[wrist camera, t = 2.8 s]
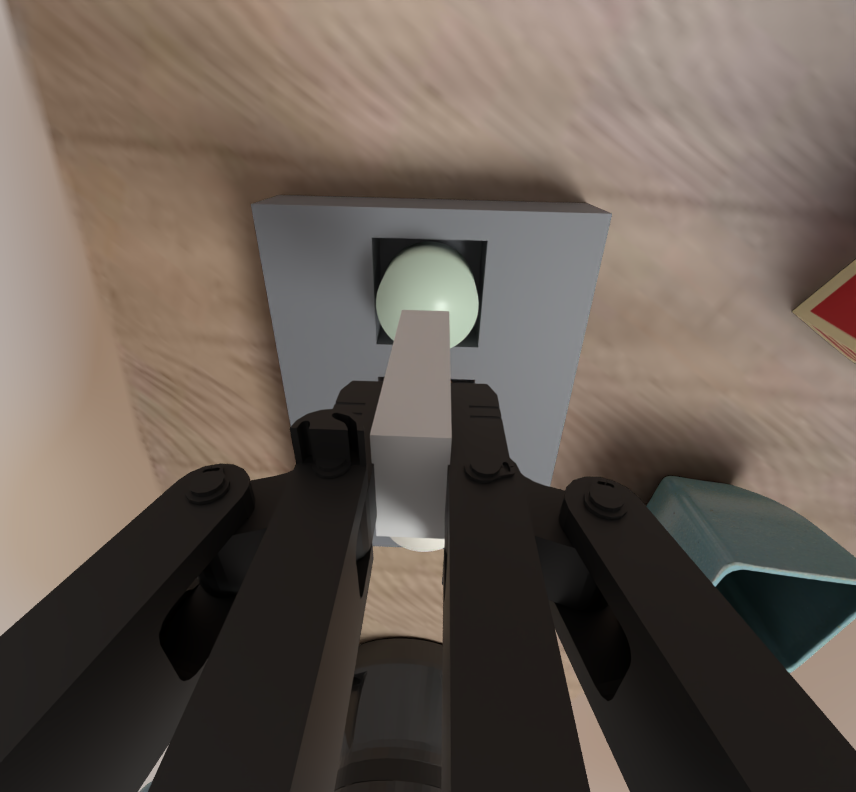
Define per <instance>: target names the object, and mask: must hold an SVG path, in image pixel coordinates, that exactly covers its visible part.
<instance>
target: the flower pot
mask: <svg viewBox="0 0 856 792" xmlns="http://www.w3.org/2000/svg"><path fill="white" fill-rule="evenodd" d="M646 507H647V508H648V509H649V510H650V511H651V512H652V514H653V515H654V516H655V517H656V518H657V519H658V521H659V522H660V523H661V524H662V525H663V526H664V528H665V529H666V530H667V531H668V532H669V533H670V535H671V536H672V537H673V538H674V539H675V540H676V542H677V543H678V544H679V545H680V546H681V547H682V549H683V550H684V551H685V552H686V553H687V554H688V556H689V557H690V558H691V559H692V560H693V561H694V563H695V564H696V565H697V566H698V567H699V568H700V570H701V571H702V572H703V573H704V574H705V575H706V577H707V578H708V579H709V580H710V581H711V582H712V584H713V585H714V586H715V587H716V588H717V589H718V591H719V592H720V593H721V594H722V595H723V596H724V598H725V599H726V600H727V601H728V602H729V603H730V605H731V606H732V607H733V608H734V609H735V610H736V612H737V613H738V614H739V615H740V616H741V617H742V619H743V620H744V621H745V622H746V623H747V624H748V626H749V627H750V628H751V629H752V630H753V631H754V633H755V634H756V635H757V636H758V637H759V638H760V640H761V641H762V642H763V643H764V644H765V645H766V647H767V648H768V649H769V650H770V651H771V652H772V654H773V655H774V656H775V657H776V658H777V659H778V661H779V662H780V663H781V664H782V665H783V666H784V668H785V669H786V670H787V671H788V672H789V673H791V672H793V671H794V670H795V669H797V668H798V667H799V666H801V664H803V663H804V662H805V661H806V660H807V659H809V658H810V657H811V656H812V655H814V654H815V653H816V652H817V651H818V650H819V649H820V648H821V647H823V646H824V645H825V644H826V643H827V642H828V641H830V640H831V639H832V638H833V637H835V636H836V635H837V634H838V633H839V632H840V631H841V630H842V629H843V628H845V627H846V626H847V625H848V624H849V623H851V622H852V621H853V620H854V619H856V558H855V557H854V556H853V555H851V554H850V553H849V552H848V551H847V550H845V549H844V548H843V547H842V546H840V545H839V544H838V543H837V542H836V541H834V540H833V539H832V538H831V537H829V536H828V535H827V534H826V533H824V532H823V531H822V530H820V529H819V528H818V527H817V526H815V525H814V524H813V523H811V522H810V521H808V520H807V519H806V518H804V517H803V516H801V515H800V514H798V513H796V512H795V511H793V510H791V509H790V508H788V507H786V506H784V505H782V504H780V503H778V502H776V501H774V500H772V499H769V498H767V497H765V496H762V495H760V494H757V493H754V492H751V491H749V490H746V489H743V488H739V487H736V486H733V485H729V484H723V483H716V482H709V481H702V480H695V479H689V478H683V477H676V476H667V477H665V478H664V479H663V480H662V481H661V482H660V484H659V486H658V488H657V489H656V491H655V493H654V494H653V496H652V498H651V499H650V501H649V503H648V504H647V506H646Z"/></svg>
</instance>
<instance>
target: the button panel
mask: <svg viewBox="0 0 856 792" xmlns="http://www.w3.org/2000/svg"><path fill="white" fill-rule="evenodd" d="M251 208H252V213H253V219H254V225H255V230H256V236H257V241H258V247H259V252H260V258H261V264H262V269H263V275H264V280H265V286H266V291H267V297H268V302H269V308H270V314H271V319H272V325H273V330H274V336H275V341H276V347H277V353H278V358H279V364H280V369H281V375H282V380H283V386H284V392H285V397H286V403H287V408H288V414H289V419H290V425H291V426H292V425H293V424H294V422H295V421H296V420H297V419H299V418H301V417H303V416H304V415H306V414H308V413H311V412H315V411H318V410H324V409H333V407H334V404H336V400H337V397H338V395H339V392H340V390H341V389H343V388H344V387H345V386H346V385H348V384H349V383H350V382H351V381H352V380H354V381H381V382H383V381H384V378H385V374H386V370H387V366H388V362H389V358H390V354H391V350H392V346H393V342H394V341H393V340H392V339H391V338H390V337H389V336H388V335H387V333H386V332H385V331H384V329H383V327H382V325H381V324H380V321H379V318H378V315H377V309H376V297H377V292H378V289H379V286H380V283H381V281H382V279H383V277H384V274H385V272H386V270H387V268H388V266H389V264H390V262H391V261H392V259H393V258H394V257H395V256H396V255H397V254H398V253H399V252H400V251H401V250H403V249H404V248H406V247H408V246H410V245H412V244H415V243H418V242H425V241H432V242H439V243H443V244H445V245H448V246H450V247H452V248H454V249H455V250H456V251H458V252H459V253H460V254H461V255H462V256H463V257H464V258H465V260H466V261H467V262H468V264H469V266H470V268H471V270H472V273H473V277H474V281H475V285H476V290H477V294H478V302H479V304H478V315H477V318H476V321H475V324H474V326H473V328H472V329H471V331H470V333H469V334H468V335H467V336H466V337H465V338H464V339H463V340H462V341H461V342H460V343H459V344H457V345H456V346H454V347H452V348H450V376H451V381H452V382H453V383H476V384H488V385H489V386H490V387H491V389H492V390H493V391H494V392H495V393H496V394H497V396H498V401H499V406H500V411H501V416H502V418H501V419H502V421H503V426H504V431H505V436H506V441H507V446H508V451H509V456H510V458H511V459H512V460H513V461H514V462H515V463H516V464H517V466H518V468H519V470H520V472H521V474H523V475H524V476H525V477H527V478H529V479H530V480H532V481H534V482H537V483H540V484H542V485H545V486H549V487H550V484H551V480H552V475H553V471H554V467H555V462H556V458H557V453H558V449H559V445H560V440H561V436H562V431H563V427H564V423H565V418H566V414H567V410H568V405H569V401H570V396H571V392H572V388H573V383H574V379H575V374H576V370H577V366H578V361H579V357H580V353H581V348H582V344H583V339H584V335H585V331H586V326H587V322H588V318H589V313H590V309H591V304H592V300H593V296H594V291H595V287H596V282H597V278H598V274H599V269H600V265H601V261H602V256H603V252H604V247H605V243H606V239H607V234H608V230H609V225H610V221H611V217H612V213H609V212H607V211H605V210H602V209H600V208H598V207H595V206H593V205H590V204H588V203H561V202H524V201H486V200H449V199H411V198H374V197H336V196H299V195H277V196H274V197H271V198H268V199H265V200H262V201H259V202H255V203H252V204H251ZM372 545H373V546H385V547H402V546H400V545H398V544H397V543H395V542H394V541H393V540H392V539H391V538H390V537H387V536H376V524H375V530H374V535H373V541H372ZM442 549H444V548H442Z"/></svg>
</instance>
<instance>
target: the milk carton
mask: <svg viewBox="0 0 856 792" xmlns="http://www.w3.org/2000/svg"><path fill="white" fill-rule="evenodd" d="M792 312H793V313H794V314H795V315H796V316H798V317H799V318H800V319H801V320H802V321H803V322H805V323H806V324H807V325H808V326H809V327H811V328H812V329H813V330H814V331H815V332H816V333H818V334H819V335H820V336H821V337H822V338H824V339H825V340H826V341H827V342H828V343H830V344H831V345H832V346H833V347H834V348H835V349H837V350H838V351H839V352H840V353H841V354H843V355H844V356H845V357H847V358H848V359H850V360H851V361H852V362H854V363H855V364H856V259H855V260H854V261H853V262H852V263H851V264H849V265H848V266H847V267H846V268H844V269H843V270H842V271H841V272H840V273H838V274H837V275H836V276H835V277H833V278H832V279H831V280H830V281H829V282H827V283H826V284H825V285H824V286H823V287H821V288H820V289H819V290H818V291H816V292H815V293H814V294H813V295H812V296H810V297H809V298H808V299H807V300H805V301H804V302H803V303H802V304H801V305H799V306H798V307H797V308H796V309H794V310H793V311H792Z"/></svg>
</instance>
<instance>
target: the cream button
mask: <svg viewBox="0 0 856 792" xmlns="http://www.w3.org/2000/svg"><path fill="white" fill-rule="evenodd" d="M390 538H391V539H392V540H393V541H394V542H395V543H397V544H398V545H400V546H402V547H404V548H406V549H409V550H413V551H419V552H429V551H436V550H439V549H442V548H444V545H445V539H433V538H410V537H390Z"/></svg>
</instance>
